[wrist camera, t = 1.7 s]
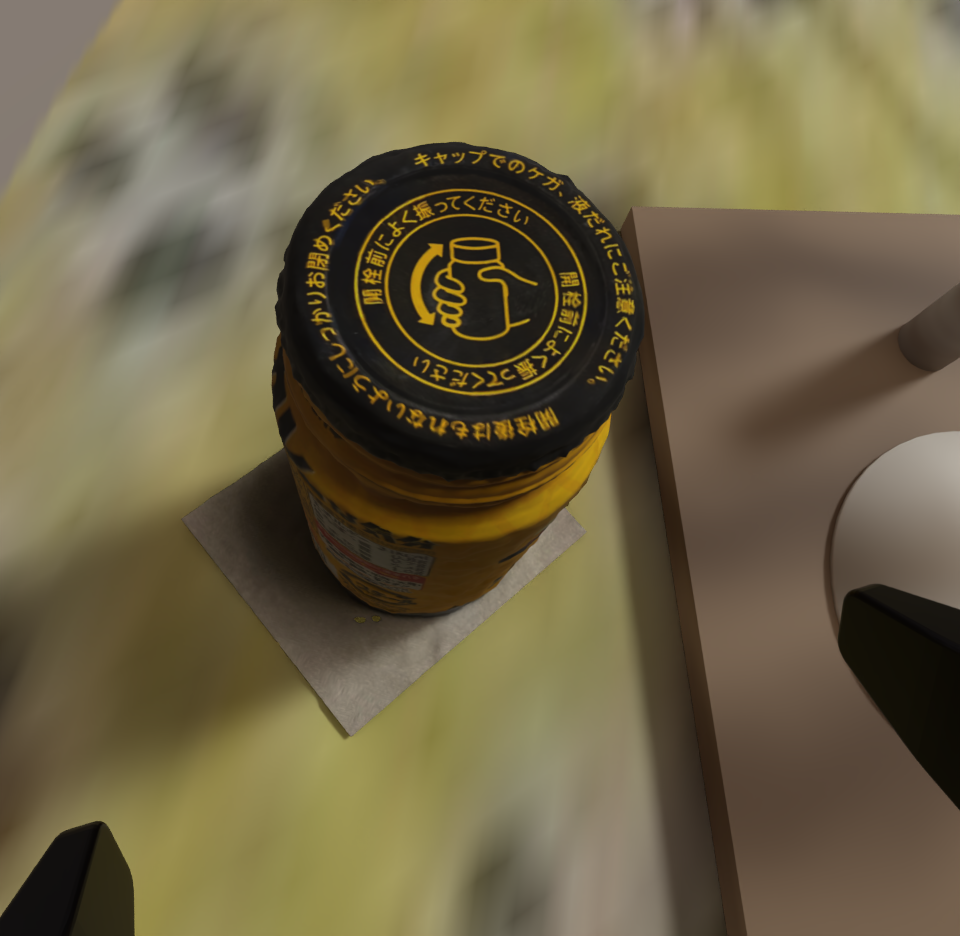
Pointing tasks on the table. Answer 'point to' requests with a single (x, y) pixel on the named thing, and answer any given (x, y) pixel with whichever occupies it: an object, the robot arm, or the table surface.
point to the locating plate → (806, 540)
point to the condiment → (425, 411)
